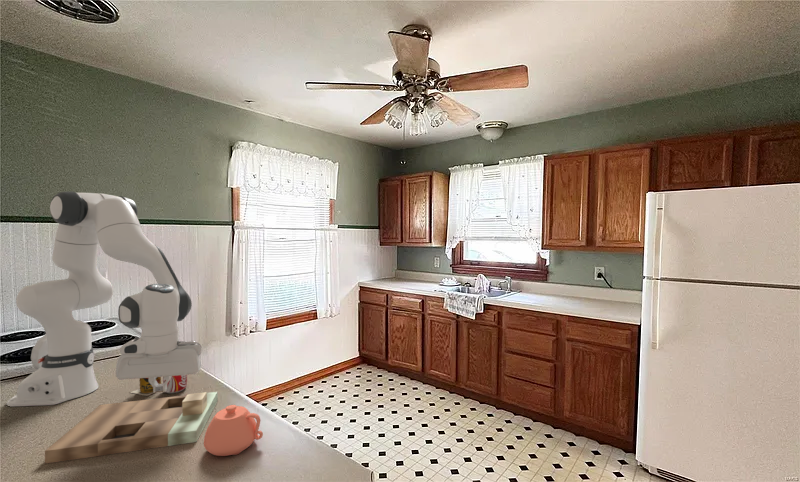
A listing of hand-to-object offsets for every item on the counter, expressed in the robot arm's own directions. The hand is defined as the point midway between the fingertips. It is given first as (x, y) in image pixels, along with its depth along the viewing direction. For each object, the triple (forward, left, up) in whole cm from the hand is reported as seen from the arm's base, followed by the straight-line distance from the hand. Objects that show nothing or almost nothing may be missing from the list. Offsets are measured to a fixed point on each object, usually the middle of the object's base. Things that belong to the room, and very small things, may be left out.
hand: (160, 391), depth 102 cm
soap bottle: (-58, +64, -10) cm, 87 cm away
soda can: (-4, +25, -10) cm, 27 cm away
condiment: (-13, +28, -10) cm, 32 cm away
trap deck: (-4, 0, -10) cm, 10 cm away
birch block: (+9, 0, -7) cm, 11 cm away
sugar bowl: (+22, -17, -10) cm, 30 cm away
